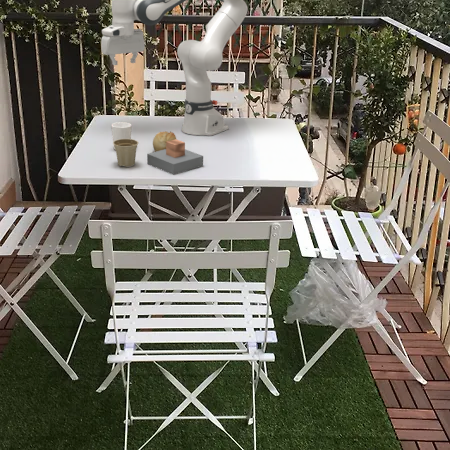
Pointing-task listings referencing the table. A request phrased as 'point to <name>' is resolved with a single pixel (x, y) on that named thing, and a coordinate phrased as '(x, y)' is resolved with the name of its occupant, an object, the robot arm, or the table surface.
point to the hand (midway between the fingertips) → (124, 63)
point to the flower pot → (125, 151)
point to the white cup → (121, 131)
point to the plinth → (175, 161)
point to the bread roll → (162, 140)
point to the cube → (175, 148)
